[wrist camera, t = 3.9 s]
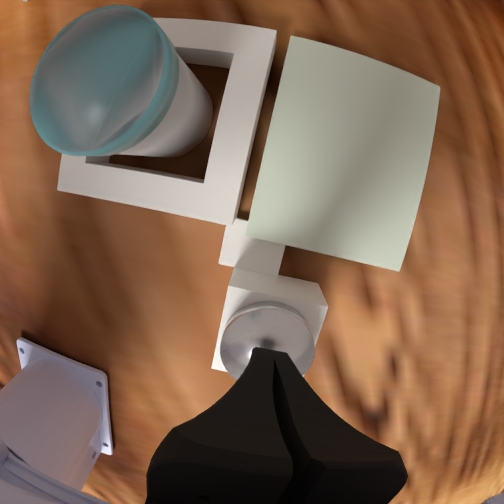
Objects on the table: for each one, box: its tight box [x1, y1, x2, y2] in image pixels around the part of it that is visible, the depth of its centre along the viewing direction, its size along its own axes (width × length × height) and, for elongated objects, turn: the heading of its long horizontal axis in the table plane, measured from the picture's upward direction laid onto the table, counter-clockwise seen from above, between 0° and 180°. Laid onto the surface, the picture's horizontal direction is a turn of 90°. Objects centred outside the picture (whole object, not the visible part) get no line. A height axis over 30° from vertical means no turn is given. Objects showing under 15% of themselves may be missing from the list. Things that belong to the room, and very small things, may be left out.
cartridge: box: [30, 5, 213, 158], centre depth 11 cm, size 5×5×8 cm
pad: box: [245, 35, 441, 271], centre depth 14 cm, size 10×8×1 cm
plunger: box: [220, 301, 315, 380], centre depth 15 cm, size 4×4×4 cm
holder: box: [57, 18, 328, 377], centre depth 14 cm, size 16×14×3 cm
